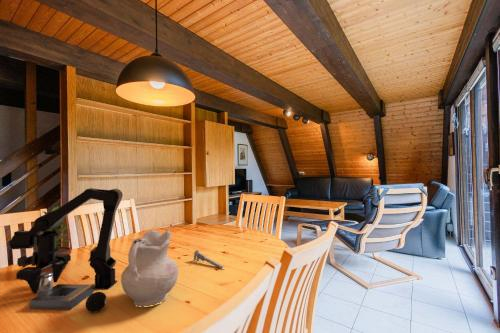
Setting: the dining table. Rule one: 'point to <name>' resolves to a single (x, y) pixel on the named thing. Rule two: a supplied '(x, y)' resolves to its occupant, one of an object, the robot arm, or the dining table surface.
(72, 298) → the jig
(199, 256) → the caliper
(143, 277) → the ceramic pitcher
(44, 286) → the grey cylinder
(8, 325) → the dining table surface
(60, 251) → the potted plant
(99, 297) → the billiard ball
